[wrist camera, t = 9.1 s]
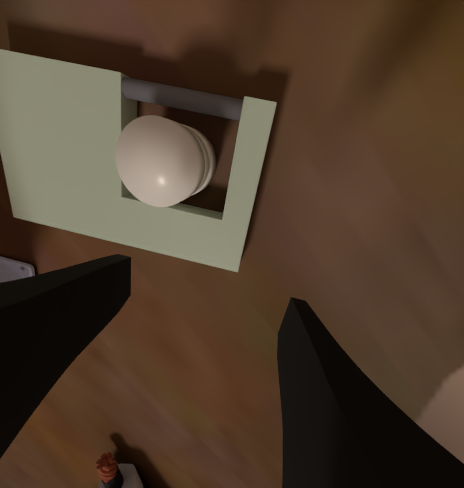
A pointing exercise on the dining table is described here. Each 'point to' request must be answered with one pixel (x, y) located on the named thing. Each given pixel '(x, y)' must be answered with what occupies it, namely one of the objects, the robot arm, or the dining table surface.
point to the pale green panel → (104, 162)
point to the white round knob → (164, 160)
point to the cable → (117, 474)
